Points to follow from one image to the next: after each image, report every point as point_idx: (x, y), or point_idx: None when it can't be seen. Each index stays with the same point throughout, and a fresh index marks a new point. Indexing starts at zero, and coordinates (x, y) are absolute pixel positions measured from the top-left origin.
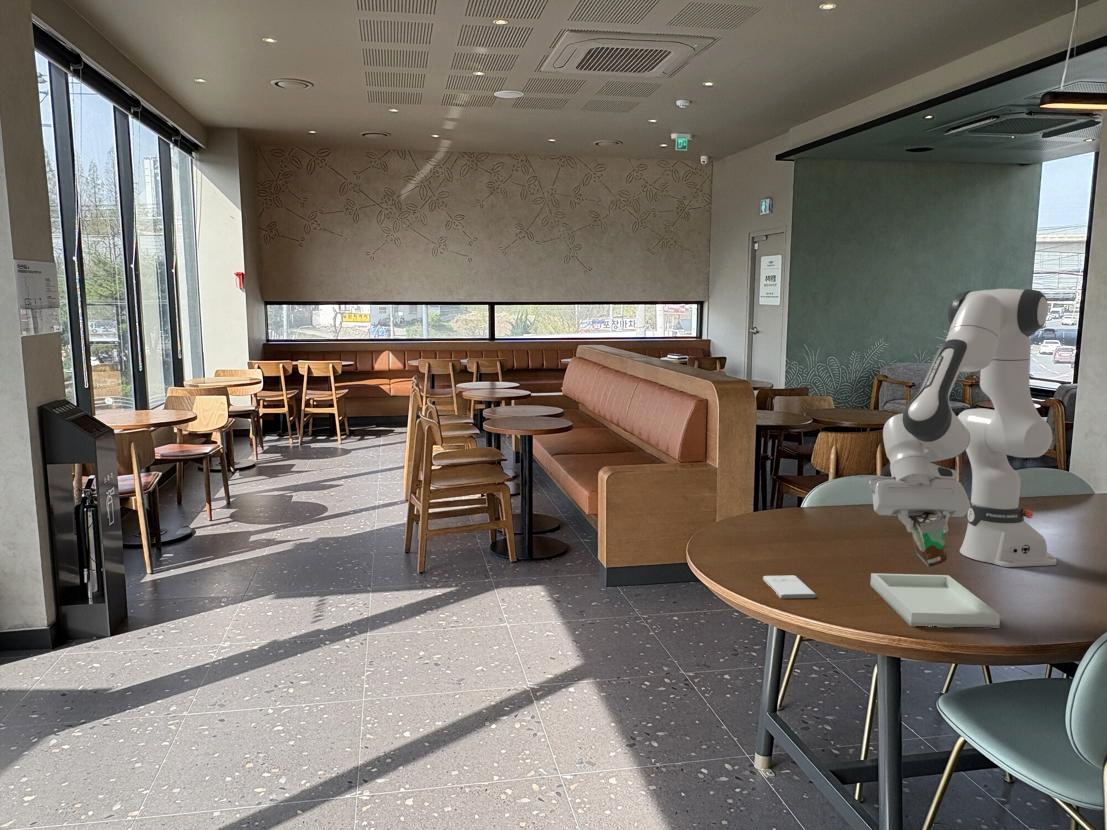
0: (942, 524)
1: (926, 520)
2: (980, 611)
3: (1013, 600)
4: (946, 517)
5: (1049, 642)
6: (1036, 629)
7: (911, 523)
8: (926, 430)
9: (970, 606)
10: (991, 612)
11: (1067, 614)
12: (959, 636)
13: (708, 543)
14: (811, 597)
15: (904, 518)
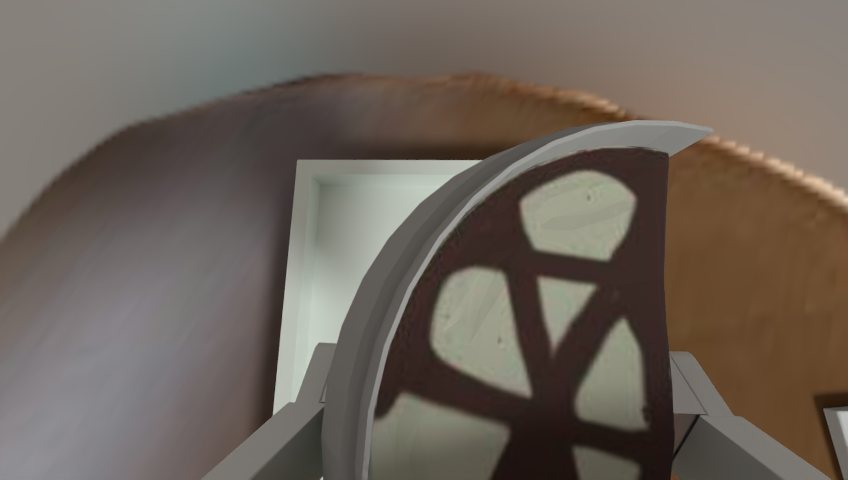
0: (438, 191)
1: (564, 331)
2: (313, 252)
3: (120, 411)
4: (260, 456)
5: (232, 101)
6: (209, 179)
7: (690, 394)
8: None
9: (313, 314)
10: (311, 182)
11: (37, 294)
12: (448, 121)
13: None
14: (841, 407)
15: (800, 467)
